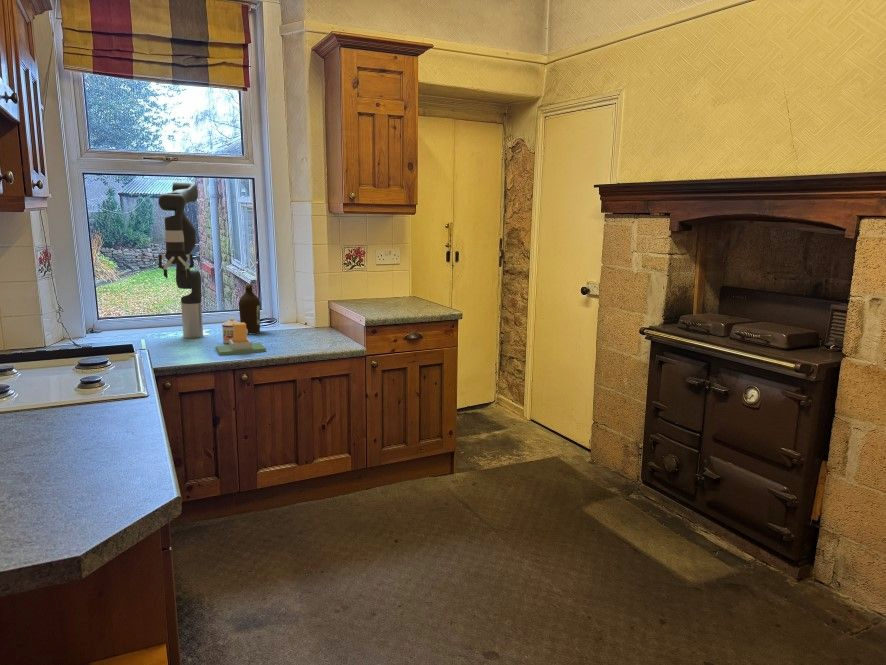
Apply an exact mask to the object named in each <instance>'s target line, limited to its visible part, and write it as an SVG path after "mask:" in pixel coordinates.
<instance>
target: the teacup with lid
mask: <svg viewBox="0 0 886 665" xmlns="http://www.w3.org/2000/svg"><path fill="white" fill-rule="evenodd" d="M233 323H240V322H239V321H237V320H235V319H234V317H230V318H229V319H228V320H227V321H224V322H223V323H222V324H221V327H222V341H223V343H224V344H227V343H228V344H227V345H229V340H231V339H233ZM246 334H247V335H249V334H248V330H247V329H246Z"/></svg>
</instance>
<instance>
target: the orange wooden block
mask: <svg viewBox="0 0 886 665" xmlns="http://www.w3.org/2000/svg"><path fill="white" fill-rule="evenodd" d="M247 335H248V334H246V324H245V323H244V322H242V323H233V339H234V343H239V342H247V338H248V337H247Z"/></svg>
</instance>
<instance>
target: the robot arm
mask: <svg viewBox="0 0 886 665" xmlns="http://www.w3.org/2000/svg"><path fill="white" fill-rule="evenodd" d="M171 190H172V191H171V192H167V193H166V192H165V193H162V194H160V195H159V197H158V206H159V208H160V209H161V210H163V211H170V212H174V215H171V216H170V215H169V216H166V217H164V244H165V254H161V253H159V254H158V260H157V261H158V265H157V266H158V268H159V269H162V271H163V276H164V278H165V279H168V269H167V268H168V267H169V266H170V265H171V264H172V265H175V266H176V267H175V281H176V282H175V283H176V286H177V288H178V289H181V290H191V292H190V293H189V294H186V295H184V296H183V295H182V296H181V297H180V305H181V307H180V308H181V320H182V336H183V338H184V339H197V338H202V337H204V328H203V309H202V274H201V273H200V270H196V269H195V270H191V269H192V268H194V267H195V264H194V257H193V254H192V252H193V251H194V248H196V247H195V246H196V243H197V236H196V235H197V233H196V228H195V226H194V224H193V223H192V221H191V220H190V218H189V217H188V216H187V214H186V213H185V209H186V208H185V207H186V204H187V203H193V202H196V201H197V199H198V197H199V190H198V186H197V184H196V183H194V182H190V181H189V182H188V181H187V182H186V181H175V182H173V183H172V186H171ZM164 259H166V260H167V261H166V262H165V264H164V265H163V260H164ZM188 260H189V264H188V263H187V262H188Z"/></svg>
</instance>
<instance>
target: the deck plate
mask: <svg viewBox="0 0 886 665" xmlns="http://www.w3.org/2000/svg"><path fill="white" fill-rule="evenodd" d="M214 347H215V348H214V349H215V351H216V352H217V353H218V355H219V356H230V355H240V354H241V355H242V354H253V353H254V352H255V353H265V352H264V351H266V350H267V348H266V347H265V345H263V344H262V343H261V342H252V341H251V339H249V338H248V337H247V342H239V343H234V339H231V340H229V344H227V345H226V344H225V345H215V346H214ZM266 352H267V351H266Z"/></svg>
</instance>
